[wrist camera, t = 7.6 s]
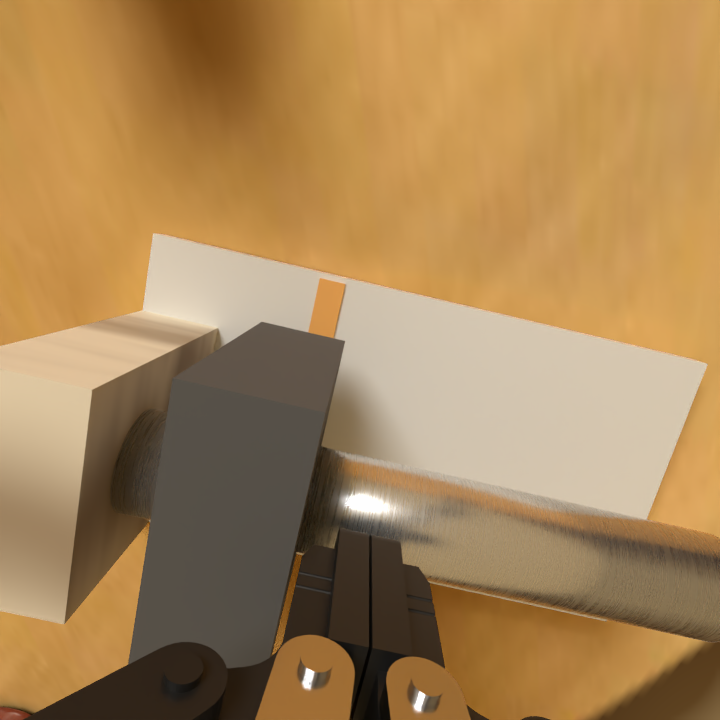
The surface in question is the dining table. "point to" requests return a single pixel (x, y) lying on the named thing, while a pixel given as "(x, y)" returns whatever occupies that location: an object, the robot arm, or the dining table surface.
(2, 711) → the supplement bottle
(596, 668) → the dining table surface
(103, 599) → the dining table surface
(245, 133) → the dining table surface
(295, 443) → the collar
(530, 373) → the pipe rig
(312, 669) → the robot arm
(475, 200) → the dining table surface
